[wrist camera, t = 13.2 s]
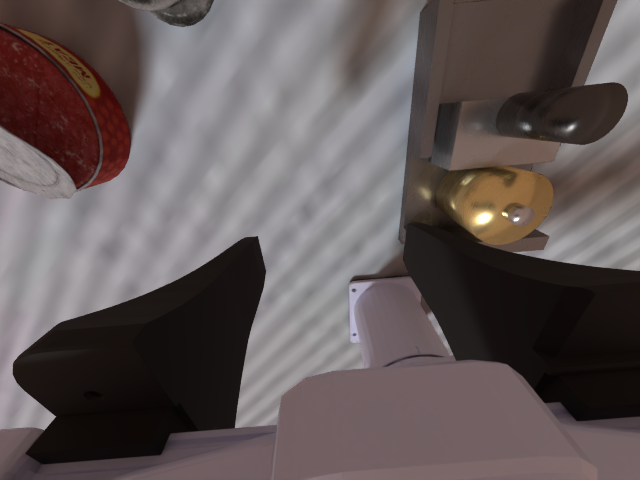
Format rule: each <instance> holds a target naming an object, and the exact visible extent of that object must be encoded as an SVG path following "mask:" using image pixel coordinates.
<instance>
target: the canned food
mask: <svg viewBox="0 0 640 480" xmlns="http://www.w3.org/2000/svg"><path fill="white" fill-rule="evenodd" d="M130 147H131V144H130V132H129V128H128V124H127V120H126V117H125V115H124V113H123V111H122V108H121V106H120V104H119V102H118V100H117V99H116V97H115V96H114V94H113V92H112V91H111V89H110V88H109V86H108V85H107V84H106V83H105V82H104V80H103V79H102V78H101V77H100V75H99V74H98V73H97V72H96V71H95V70H94V69H93V68H92V67H91V66H90V65H89V64H88V63H86V62H85V61H84V60H83V59H82V58H81V57H79V56H78V55H76V54H75V53H74V52H72V51H71V50H70V49H68V48H67V47H65V46H63V45H61V44H59V43H58V42H56V41H54V40H52V39H50V38H47V37H45V36H42V35H39V34H36V33H33V32H29V31H26V30H22V29H19V28H16V27H12V26H9V25H6V24H2V23H0V180H1V181H3V182H5V183H7V184H9V185H12V186H15V187H17V188H20V189H22V190H24V191H28V192H32V193H35V194H39V195H42V196H44V197H47V198H50V199H55V198H68V199H70V198H71V197H72V195H73V194H74V193H75V192H78V191H81V190H82V189H85V188H88V187H92V186H95V185H98V184H101V183H104V182H107V181H110V180H112V179H113V178H115V177H116V176H118V175H119V174H120V172H121V171H122V170H123V169H124V168H125V165H126V163H127V161H128V159H129V154H130Z"/></svg>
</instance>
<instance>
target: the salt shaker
mask: <svg viewBox="0 0 640 480" xmlns="http://www.w3.org/2000/svg"><path fill="white" fill-rule="evenodd" d="M118 1H120V2H122V3H124V4H126V5H129V6H131V7H133V8H135V9H140V10H146V11H150V12H151V13H152V14H153V15H154V16H156V17H157V18H158V19H160V20H162V21H164V22H166V23H168V24H170V25H174V26H180V27H185V26H191V25H194V24H196V23H197V22H199V21H201V20H202V19H203V18H204V17H205V15H206V14H207V13H208V12H209V10H210V8H211V5H212V3H213V0H118Z"/></svg>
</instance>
